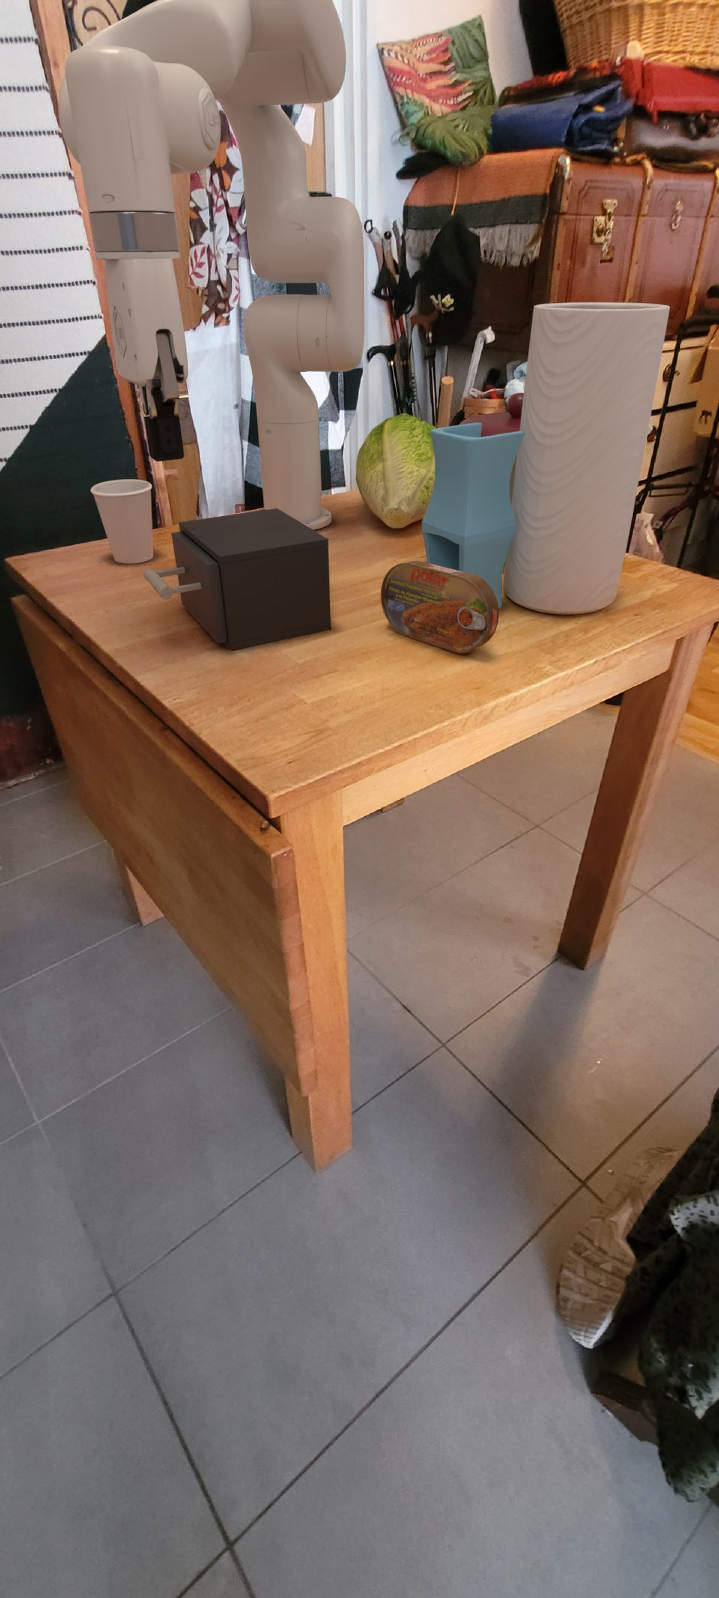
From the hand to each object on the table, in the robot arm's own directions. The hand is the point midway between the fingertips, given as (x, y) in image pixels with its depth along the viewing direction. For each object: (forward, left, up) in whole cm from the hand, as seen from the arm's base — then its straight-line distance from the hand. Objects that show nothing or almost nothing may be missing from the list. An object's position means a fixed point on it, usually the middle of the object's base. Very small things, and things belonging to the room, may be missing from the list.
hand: (167, 458), depth 79 cm
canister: (-6, +50, -19) cm, 54 cm away
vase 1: (+8, +33, -19) cm, 39 cm away
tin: (+16, +24, -19) cm, 35 cm away
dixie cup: (-31, +1, -19) cm, 37 cm away
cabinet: (0, +8, -19) cm, 21 cm away
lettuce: (-30, +46, -19) cm, 58 cm away
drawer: (0, +4, -18) cm, 19 cm away
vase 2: (+12, +45, -19) cm, 50 cm away
